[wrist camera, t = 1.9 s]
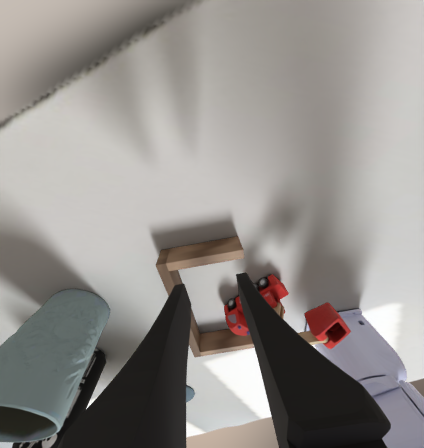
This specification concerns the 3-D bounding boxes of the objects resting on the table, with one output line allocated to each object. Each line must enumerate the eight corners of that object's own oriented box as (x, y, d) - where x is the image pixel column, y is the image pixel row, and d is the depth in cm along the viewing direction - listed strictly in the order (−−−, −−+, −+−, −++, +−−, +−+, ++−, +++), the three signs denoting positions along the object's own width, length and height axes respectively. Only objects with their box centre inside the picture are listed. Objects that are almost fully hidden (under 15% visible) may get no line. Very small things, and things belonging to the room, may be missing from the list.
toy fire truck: (220, 304, 27) (229, 380, 19) (292, 256, 24) (344, 323, 15) (233, 313, 29) (247, 388, 20) (303, 269, 25) (358, 337, 16)
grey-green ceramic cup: (101, 282, 24) (19, 398, 13) (125, 325, 28) (78, 438, 18) (30, 290, 24) (-112, 414, 13) (65, 332, 28) (-19, 450, 18)
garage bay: (237, 236, 22) (243, 249, 19) (249, 329, 31) (254, 347, 28) (161, 250, 22) (155, 265, 19) (195, 338, 31) (194, 357, 28)
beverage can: (90, 367, 33) (38, 474, 23) (62, 353, 31) (-13, 466, 20) (115, 357, 32) (72, 464, 22) (88, 341, 30) (24, 454, 19)
